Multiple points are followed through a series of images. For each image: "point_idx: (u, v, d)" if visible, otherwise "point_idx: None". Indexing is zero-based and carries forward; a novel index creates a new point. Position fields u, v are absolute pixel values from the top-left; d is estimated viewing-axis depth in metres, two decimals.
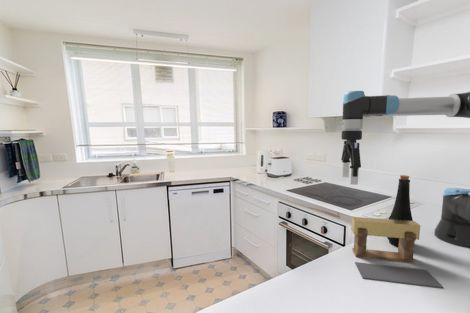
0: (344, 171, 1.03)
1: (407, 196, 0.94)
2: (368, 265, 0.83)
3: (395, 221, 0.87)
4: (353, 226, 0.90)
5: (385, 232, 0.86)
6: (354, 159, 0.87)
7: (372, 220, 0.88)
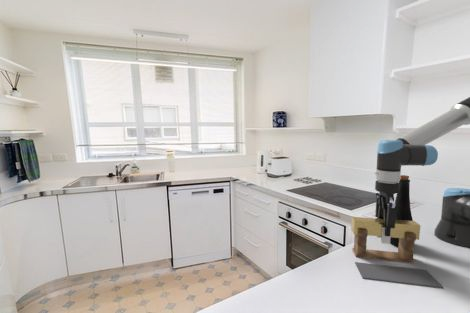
0: None
1: (407, 196, 0.94)
2: (368, 265, 0.83)
3: (395, 221, 0.87)
4: (353, 226, 0.90)
5: None
6: (389, 220, 0.82)
7: (372, 220, 0.88)
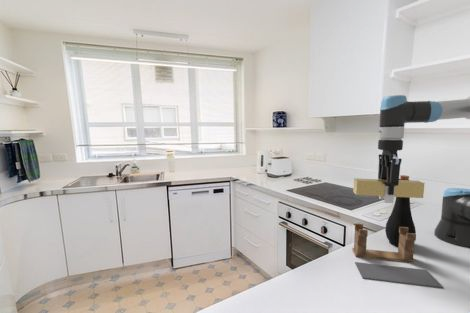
0: None
1: None
2: (368, 265, 0.83)
3: None
4: (355, 187, 0.88)
5: None
6: (392, 177, 0.80)
7: (375, 180, 0.86)
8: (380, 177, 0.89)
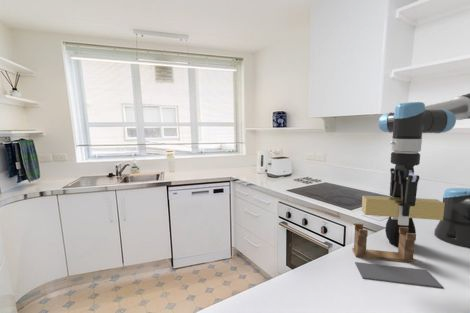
0: None
1: None
2: (368, 265, 0.83)
3: None
4: (364, 206, 0.77)
5: None
6: (408, 197, 0.69)
7: (387, 198, 0.75)
8: (392, 194, 0.79)
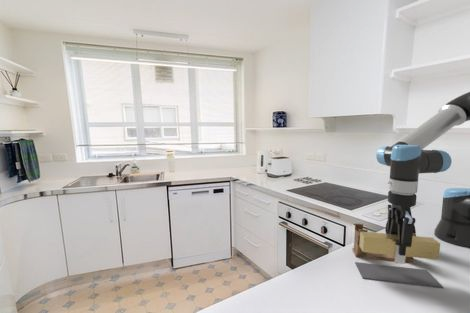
0: None
1: None
2: (368, 265, 0.83)
3: None
4: (362, 242, 0.79)
5: None
6: (404, 238, 0.71)
7: (384, 236, 0.77)
8: (389, 231, 0.80)
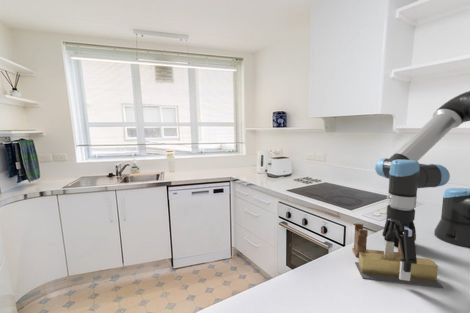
0: (388, 252, 0.83)
1: None
2: None
3: None
4: (361, 263, 0.80)
5: (397, 271, 0.76)
6: (408, 253, 0.69)
7: (383, 257, 0.78)
8: (385, 236, 0.84)
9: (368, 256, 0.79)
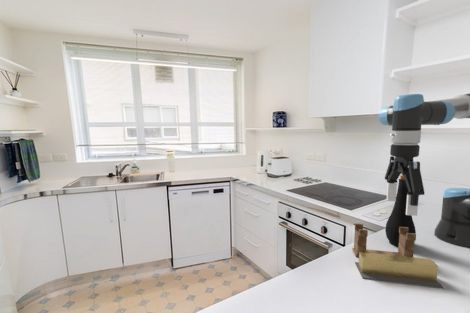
0: (390, 193, 0.82)
1: None
2: None
3: (409, 259, 0.77)
4: (361, 263, 0.80)
5: (397, 271, 0.76)
6: (414, 184, 0.67)
7: (383, 257, 0.78)
8: (388, 178, 0.83)
9: (368, 256, 0.79)
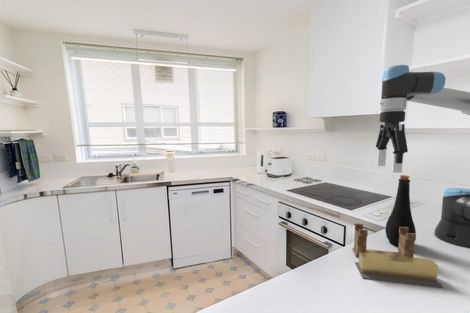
0: (380, 159, 0.91)
1: (407, 196, 0.94)
2: None
3: (409, 259, 0.77)
4: (361, 263, 0.80)
5: (397, 271, 0.76)
6: (399, 143, 0.75)
7: (383, 257, 0.78)
8: (378, 145, 0.92)
9: (368, 256, 0.79)
